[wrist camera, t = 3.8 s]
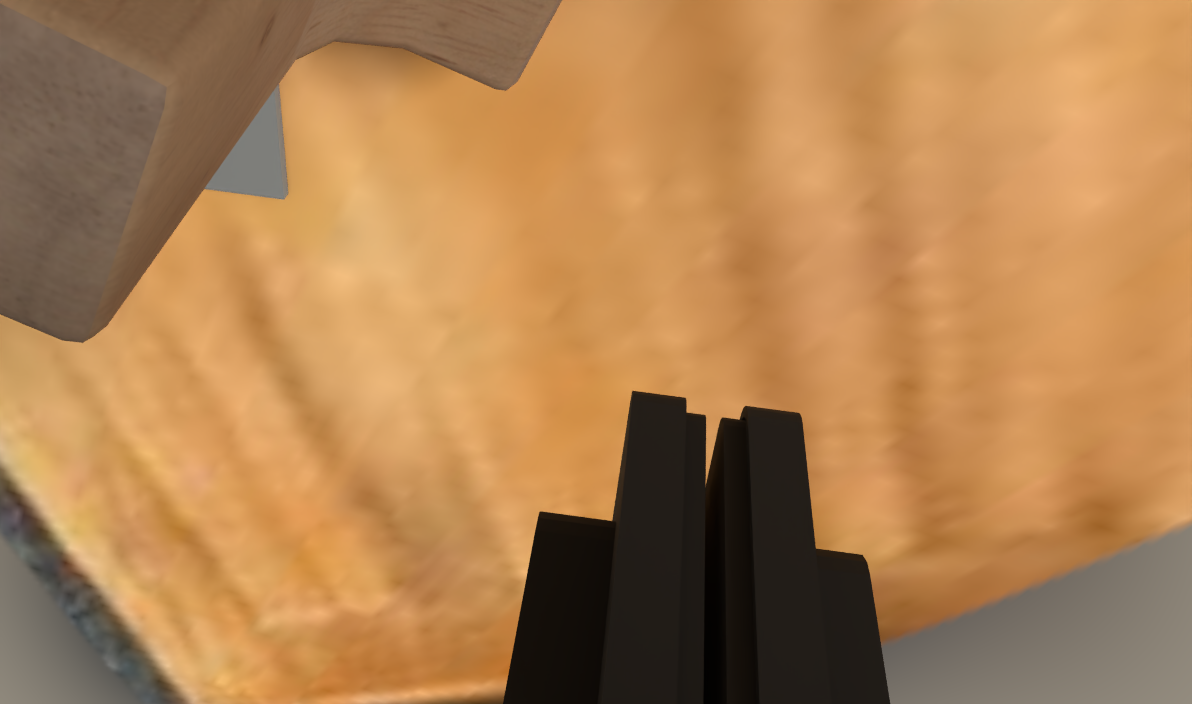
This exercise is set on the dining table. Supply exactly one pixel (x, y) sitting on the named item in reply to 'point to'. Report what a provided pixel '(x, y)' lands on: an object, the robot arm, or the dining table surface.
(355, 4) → the wooden block
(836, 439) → the dining table surface
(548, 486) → the dining table surface
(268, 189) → the mat
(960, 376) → the dining table surface
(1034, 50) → the dining table surface
